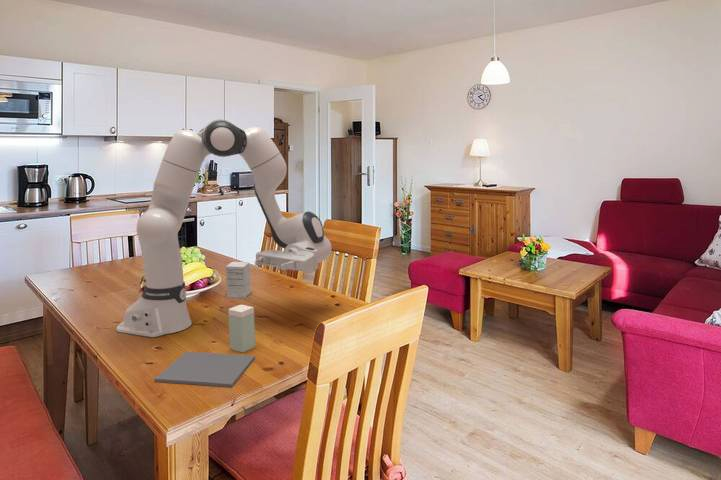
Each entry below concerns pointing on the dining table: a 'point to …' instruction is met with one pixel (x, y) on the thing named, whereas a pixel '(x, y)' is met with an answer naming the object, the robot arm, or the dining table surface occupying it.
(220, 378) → the rubber mat
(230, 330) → the sage block
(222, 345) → the dining table surface
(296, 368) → the dining table surface
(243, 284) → the supplement box
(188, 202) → the robot arm
